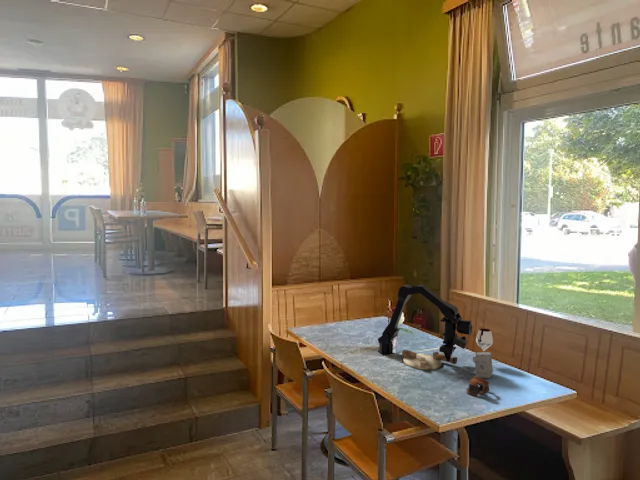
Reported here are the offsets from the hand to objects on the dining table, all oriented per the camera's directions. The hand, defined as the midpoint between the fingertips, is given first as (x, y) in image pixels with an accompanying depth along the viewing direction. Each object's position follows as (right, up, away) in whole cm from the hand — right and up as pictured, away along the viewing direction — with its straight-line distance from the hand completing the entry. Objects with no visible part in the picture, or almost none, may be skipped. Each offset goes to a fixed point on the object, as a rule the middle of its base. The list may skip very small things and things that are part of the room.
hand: (448, 361), depth 239 cm
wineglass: (+19, -3, +5) cm, 20 cm away
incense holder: (+14, -4, -10) cm, 17 cm away
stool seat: (-12, -2, +5) cm, 13 cm away
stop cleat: (+3, -1, +13) cm, 13 cm away
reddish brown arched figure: (+5, -6, -31) cm, 32 cm away
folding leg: (-1, -1, +4) cm, 4 cm away
